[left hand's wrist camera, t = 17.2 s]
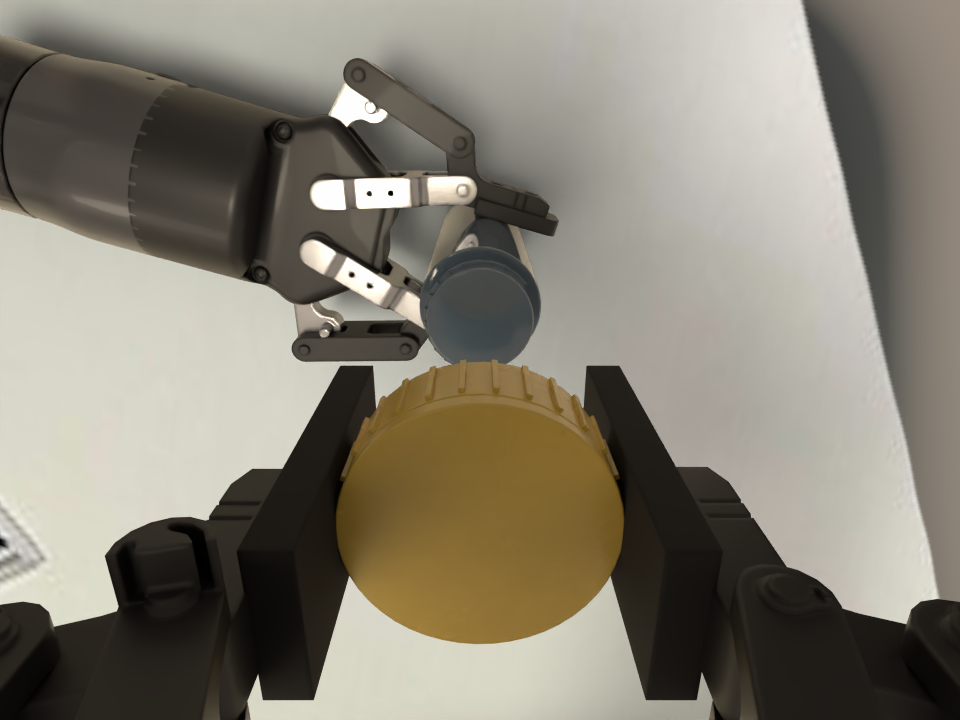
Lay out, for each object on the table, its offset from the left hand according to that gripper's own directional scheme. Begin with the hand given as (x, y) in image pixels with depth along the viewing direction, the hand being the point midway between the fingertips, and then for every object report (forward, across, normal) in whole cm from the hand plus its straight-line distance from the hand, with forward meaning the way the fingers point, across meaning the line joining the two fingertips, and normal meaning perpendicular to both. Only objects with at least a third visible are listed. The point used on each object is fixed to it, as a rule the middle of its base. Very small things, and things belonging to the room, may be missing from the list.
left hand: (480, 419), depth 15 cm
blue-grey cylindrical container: (+21, 0, -1) cm, 21 cm away
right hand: (+15, -3, 0) cm, 15 cm away
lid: (-4, 0, 0) cm, 4 cm away
